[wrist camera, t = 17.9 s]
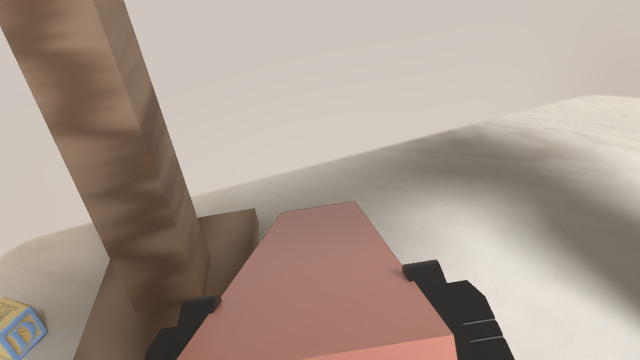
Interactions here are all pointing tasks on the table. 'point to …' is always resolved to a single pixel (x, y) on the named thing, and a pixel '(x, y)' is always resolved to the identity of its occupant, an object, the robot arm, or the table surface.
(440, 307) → the robot arm
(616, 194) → the table surface
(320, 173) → the table surface
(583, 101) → the table surface
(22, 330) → the alphabet block
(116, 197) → the brown pedestal stand
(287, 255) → the salmon pink bar
